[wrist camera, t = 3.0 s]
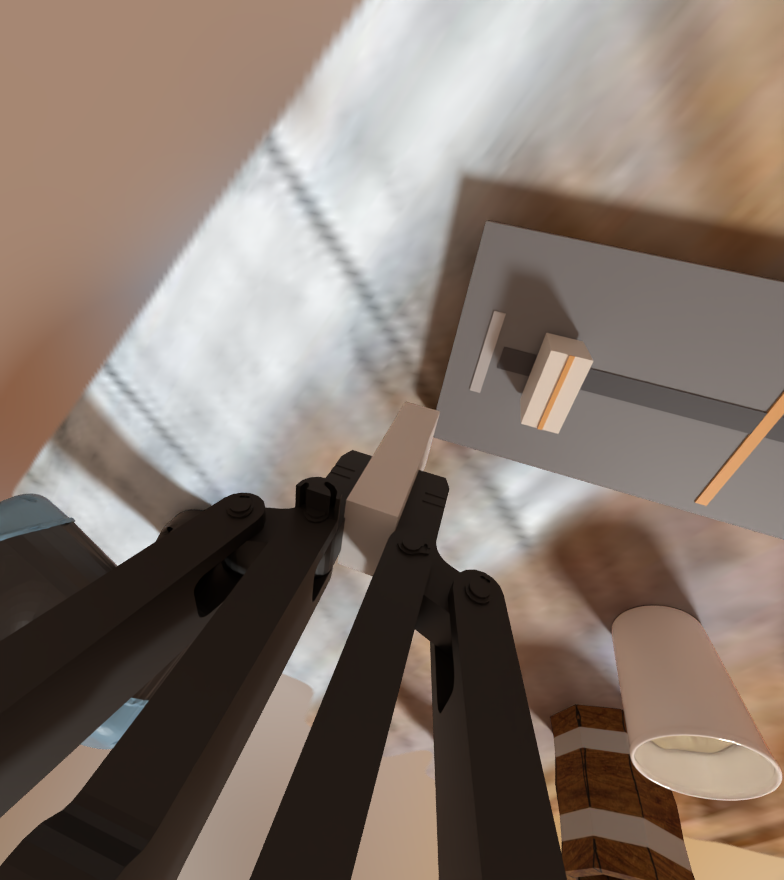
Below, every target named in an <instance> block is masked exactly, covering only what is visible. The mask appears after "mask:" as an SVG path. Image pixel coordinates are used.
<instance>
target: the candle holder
mask: <svg viewBox="0 0 784 880" xmlns="http://www.w3.org/2000/svg"><path fill="white" fill-rule="evenodd" d="M612 640H613V647H614V653H615V660H616V666H617V672H618V678H619V684H620V691H621V697H622V703H623V709H624V715H625V722H626V728H627V734H628V741H629V748H630V750H629V752H630V758H631V761H632V763H633V765H634V766H635V768H636V769H637V770H638V771H639V772H640V773H641V774H642V775H644V776H645V777H646V778H648V779H649V780H651V781H653V782H654V783H656V784H658V785H660V786H663V787H665V788H667V789H670V790H673V791H676V792H679V793H682V794H686V795H690V796H694V797H699V798H706V799H714V800H746V799H753V798H757V797H761V796H764V795H767V794H769V793H771V792H773V791H774V790H776V789H777V788H778V787H779V785H780V784H781V782H782V771H781V769H780V766H779V765H778V763H777V761H776V760H775V759H774V757H773V756H772V754H771V752H770V750H769V748H768V746H767V745H766V743H765V741H764V739H763V737H762V735H761V733H760V732H759V730H758V728H757V726H756V724H755V722H754V720H753V719H752V717H751V715H750V713H749V711H748V709H747V707H746V705H745V704H744V702H743V700H742V698H741V696H740V694H739V692H738V691H737V689H736V687H735V685H734V683H733V681H732V679H731V677H730V676H729V674H728V672H727V670H726V668H725V666H724V664H723V663H722V661H721V659H720V657H719V655H718V653H717V651H716V650H715V648H714V646H713V644H712V642H711V640H710V639H709V637H708V635H707V633H706V632H705V630H704V628H703V627H702V625H701V624H700V623H699V622H698V621H697V620H696V619H695V618H694V617H693V616H691V615H690V614H688V613H686V612H684V611H681V610H678V609H675V608H671V607H666V606H655V605H652V606H641V607H636V608H633V609H630V610H627V611H625V612H623V613H622V614H620V615H619V616H618V617H617V618H616V619H615V621H614V622H613V625H612Z"/></svg>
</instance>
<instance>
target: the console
mask: <svg viewBox="0 0 784 880" xmlns="http://www.w3.org/2000/svg"><path fill="white" fill-rule="evenodd" d="M546 333H550V334H554V335H558V336H562V337H567V338H571V339H575V340H579V341H583V342H584V344H585V346H586V348H587V350H588V351H589V353H590V355H591V357H592V359H593V363H592V365H591V367H590V369H589V371H588V374H587V376H586V378H585V380H584V382H583V384H582V386H581V388H580V390H579V392H578V394H577V396H576V398H575V400H574V402H573V405H572V407H571V409H570V411H569V413H568V415H567V417H566V419H565V421H564V423H563V425H562V427H561V429H560V431H559V433H558V434H557V433H553V432H549V431H546V430H539V429H537V428H535V427H531V426H528V425H524V424H521V407H520V398H521V396H522V393H523V391H524V388H525V386H526V383H527V381H528V378H529V376H530V373H531V370H532V368H533V365H534V363H535V360H536V358H537V355H538V353H539V350H540V348H541V345H542V343H543V340H544V338H545V335H546ZM436 410H437V411H440V414H439V418H438V421H437V425H436V429H435V432H434V436H433V437H434V438H438V439H441V440H445V441H448V442H451V443H455V444H458V445H462V446H465V447H469V448H472V449H475V450H479V451H482V452H486V453H489V454H493V455H496V456H499V457H503V458H506V459H510V460H513V461H516V462H520V463H523V464H527V465H530V466H534V467H537V468H540V469H544V470H547V471H551V472H554V473H558V474H561V475H564V476H568V477H571V478H575V479H578V480H581V481H585V482H588V483H592V484H595V485H599V486H602V487H605V488H609V489H612V490H616V491H619V492H622V493H626V494H629V495H633V496H636V497H640V498H643V499H646V500H650V501H653V502H657V503H660V504H664V505H667V506H670V507H674V508H677V509H681V510H684V511H687V512H691V513H694V514H698V515H701V516H705V517H708V518H711V519H715V520H718V521H722V522H725V523H729V524H732V525H735V526H739V527H742V528H746V529H749V530H752V531H756V532H759V533H763V534H766V535H770V536H773V537H776V538H780V539H783V540H784V281H781V280H776V279H771V278H766V277H761V276H756V275H751V274H747V273H742V272H737V271H732V270H727V269H722V268H717V267H713V266H708V265H703V264H698V263H693V262H688V261H684V260H679V259H674V258H669V257H664V256H659V255H654V254H650V253H645V252H640V251H635V250H630V249H625V248H620V247H616V246H611V245H606V244H601V243H596V242H591V241H586V240H582V239H577V238H572V237H567V236H562V235H557V234H552V233H548V232H543V231H538V230H533V229H528V228H523V227H518V226H514V225H509V224H504V223H499V222H494V221H489V220H488V221H486V223H485V227H484V230H483V234H482V238H481V242H480V246H479V249H478V253H477V257H476V261H475V264H474V268H473V272H472V276H471V280H470V283H469V287H468V291H467V295H466V299H465V302H464V306H463V310H462V314H461V317H460V321H459V325H458V329H457V333H456V336H455V340H454V344H453V348H452V352H451V355H450V359H449V363H448V367H447V370H446V374H445V378H444V382H443V386H442V389H441V393H440V397H439V401H438V405H437V408H436Z"/></svg>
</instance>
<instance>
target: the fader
mask: <svg viewBox="0 0 784 880" xmlns="http://www.w3.org/2000/svg"><path fill="white" fill-rule="evenodd" d="M592 363H593V359H592V357H591V355H590V353H589V351H588V350H587V348H586V346H585V344H584V342H583V341H579V340H575V339H571V338H567V337H562V336H558V335H554V334H550V333H546V335H545V338H544V340H543V343H542V345H541V348H540V350H539V353H538V355H537V358H536V360H535V363H534V365H533V368H532V370H531V373H530V376H529V378H528V381H527V383H526V386H525V388H524V391H523V393H522V396H521V398H520V407H521V424H524V425H528V426H531V427H535V428H537V429H539V430H546V431H549V432H553V433H557V434H558V433H559V431H560V429H561V427H562V425H563V423H564V421H565V419H566V417H567V415H568V413H569V411H570V409H571V407H572V405H573V402H574V400H575V398H576V396H577V394H578V392H579V390H580V388H581V386H582V384H583V382H584V380H585V378H586V376H587V374H588V371H589V369H590V367H591V365H592Z"/></svg>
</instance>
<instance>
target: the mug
mask: <svg viewBox="0 0 784 880" xmlns="http://www.w3.org/2000/svg"><path fill="white" fill-rule="evenodd" d="M550 719H551V724H552V730H553V735H554V746H555V785H556V792H557V799H558V806H559V813H560V823H561V837H562V859H563V863H564V868H565V872H566V877H567V880H695V878H694V876H693V873H692V870H691V866H690V862H689V858H688V855H687V851H686V847H685V844H684V840H683V834H682V829H681V824H680V819H679V814H678V809H677V805H676V802H675V799H674V796H673V793H672V791H671V790H670V789H667V788H665V787H663V786H660V785H658V784H656V783H654V782H653V781H651V780H649V779H648V778H646V777H645V776H644V775H642V774H641V773H640V772H639V771H638V770H637V769H636V768H635V766H634V765H633V763H632V761H631V758H630V752H629V750H630V748H629V741H628V734H627V728H626V722H625V715H624V711H623V710H621V709H614V708H604V707H594V706H585V705H574V706H572V707H570V708H568V709H565V710H563V711H561V712H559V713H557V714H555V715H553V716H551V717H550Z"/></svg>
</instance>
